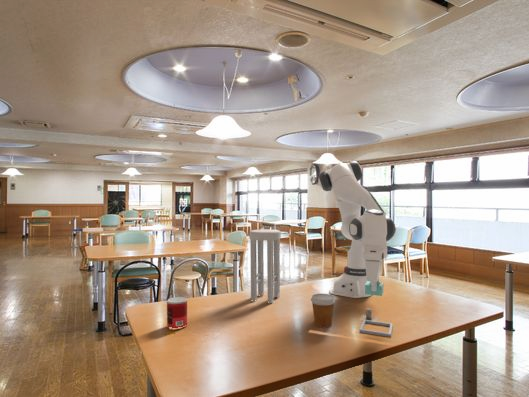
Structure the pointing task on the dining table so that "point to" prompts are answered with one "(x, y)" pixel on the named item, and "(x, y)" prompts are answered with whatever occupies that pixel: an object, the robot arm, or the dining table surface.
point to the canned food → (177, 312)
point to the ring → (377, 292)
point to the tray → (376, 331)
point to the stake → (368, 316)
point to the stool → (269, 236)
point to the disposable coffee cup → (323, 309)
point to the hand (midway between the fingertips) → (375, 288)
